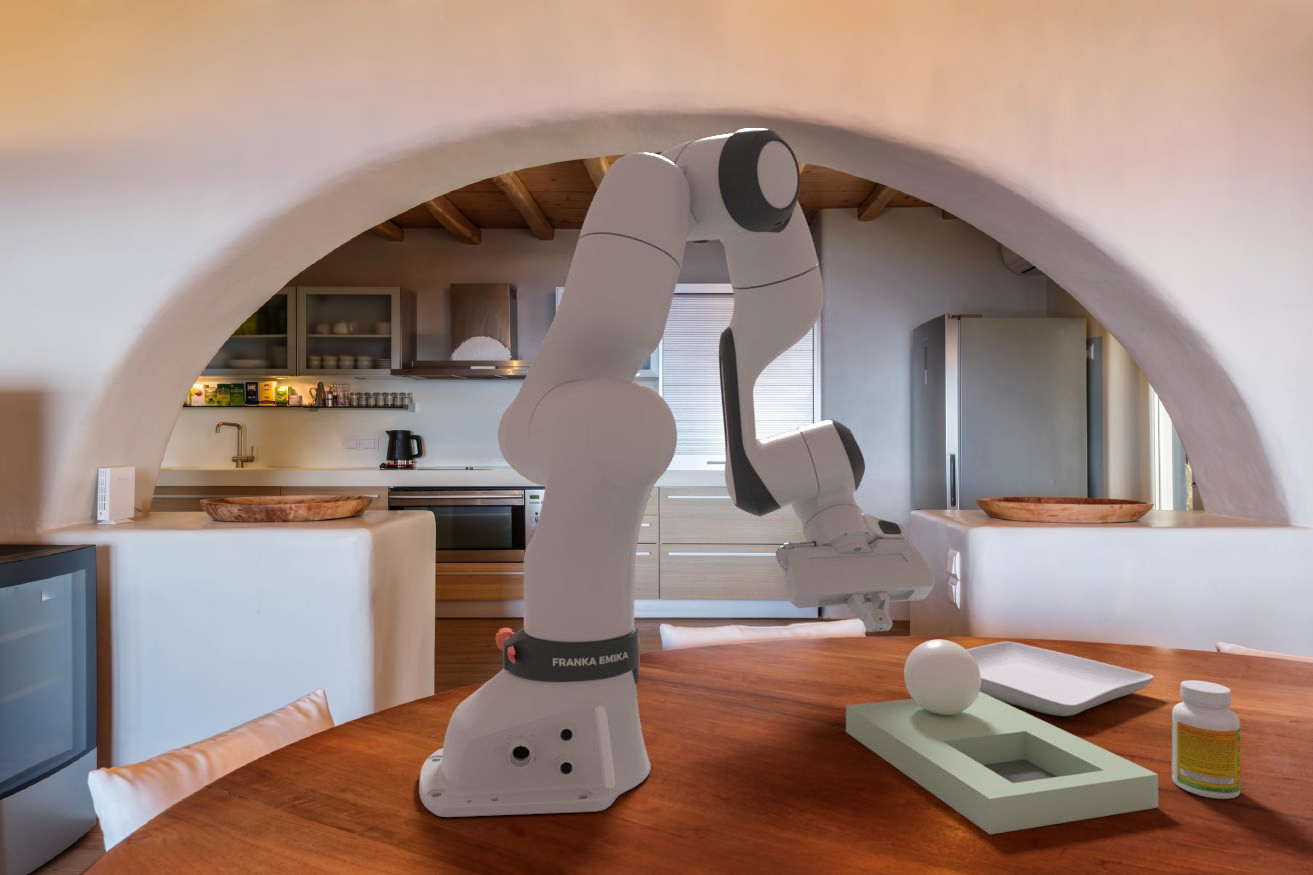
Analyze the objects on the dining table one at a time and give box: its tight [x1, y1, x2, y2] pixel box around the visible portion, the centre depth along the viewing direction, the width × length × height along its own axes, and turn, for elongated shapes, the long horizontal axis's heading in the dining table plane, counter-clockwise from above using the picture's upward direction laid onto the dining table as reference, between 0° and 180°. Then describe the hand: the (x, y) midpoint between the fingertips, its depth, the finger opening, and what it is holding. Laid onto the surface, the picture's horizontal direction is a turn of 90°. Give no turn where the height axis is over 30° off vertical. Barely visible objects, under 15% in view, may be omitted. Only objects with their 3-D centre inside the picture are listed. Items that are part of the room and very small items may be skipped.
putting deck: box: [845, 692, 1159, 835], centre depth 80 cm, size 18×24×3 cm
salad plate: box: [965, 640, 1155, 717], centre depth 105 cm, size 21×21×3 cm
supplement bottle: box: [1171, 679, 1241, 800], centre depth 75 cm, size 5×5×10 cm
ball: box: [903, 638, 981, 715], centre depth 87 cm, size 8×8×8 cm
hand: (880, 628), depth 99 cm, fingers closed
